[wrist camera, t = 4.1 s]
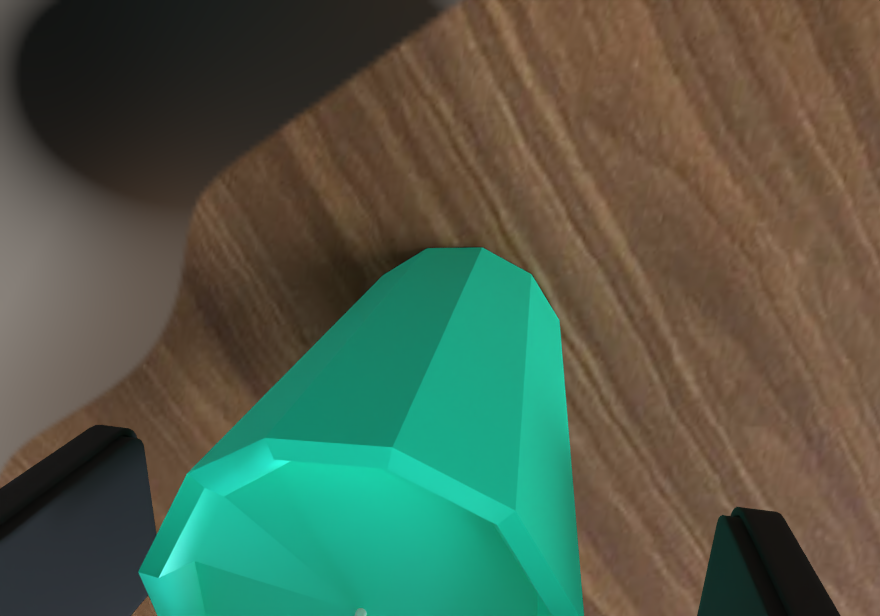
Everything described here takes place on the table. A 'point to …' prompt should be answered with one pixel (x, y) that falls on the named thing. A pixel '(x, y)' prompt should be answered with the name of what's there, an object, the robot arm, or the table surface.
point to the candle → (393, 465)
